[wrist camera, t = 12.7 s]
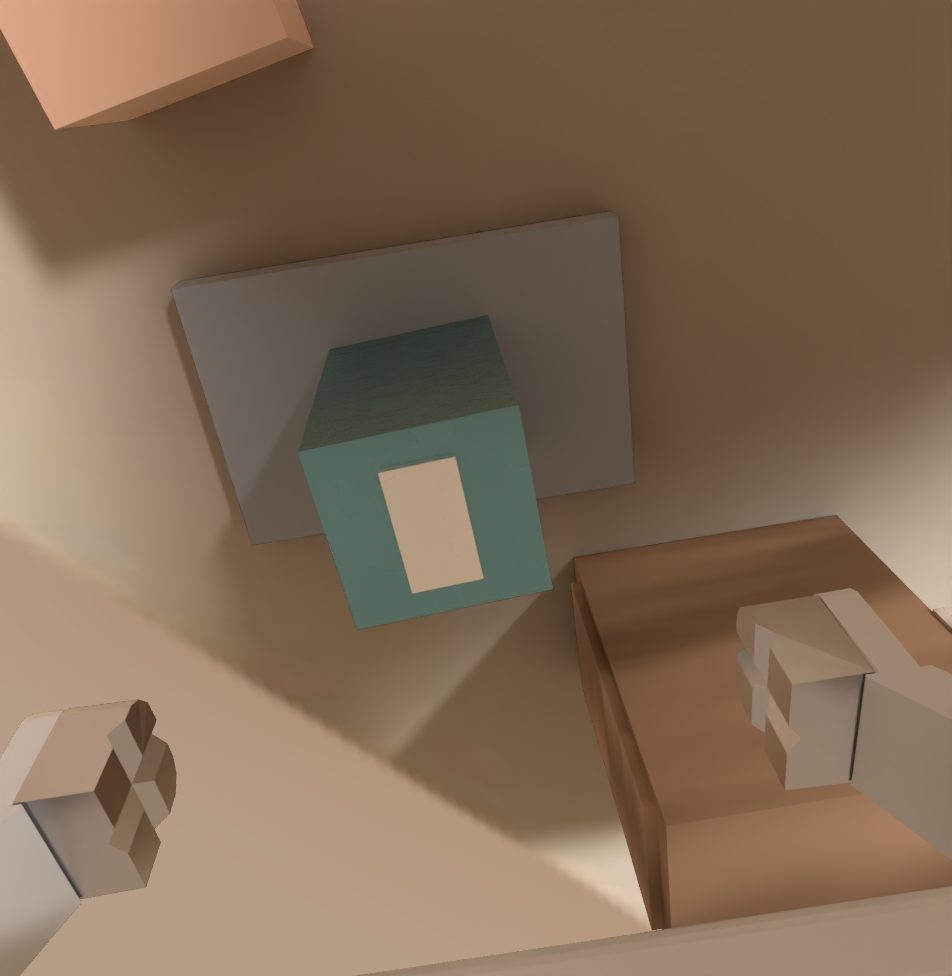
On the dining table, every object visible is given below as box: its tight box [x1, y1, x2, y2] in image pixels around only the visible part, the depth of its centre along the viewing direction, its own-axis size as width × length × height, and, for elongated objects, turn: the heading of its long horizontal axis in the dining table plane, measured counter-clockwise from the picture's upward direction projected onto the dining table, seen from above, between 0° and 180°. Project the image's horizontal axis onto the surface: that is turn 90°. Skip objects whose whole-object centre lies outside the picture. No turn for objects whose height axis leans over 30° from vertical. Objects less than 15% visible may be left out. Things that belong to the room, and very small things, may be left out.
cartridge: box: [298, 315, 553, 630], centre depth 20 cm, size 4×4×7 cm
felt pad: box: [171, 211, 635, 545], centre depth 23 cm, size 8×12×1 cm, turn 98°
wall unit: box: [571, 515, 952, 930], centre depth 23 cm, size 5×10×11 cm, turn 98°
